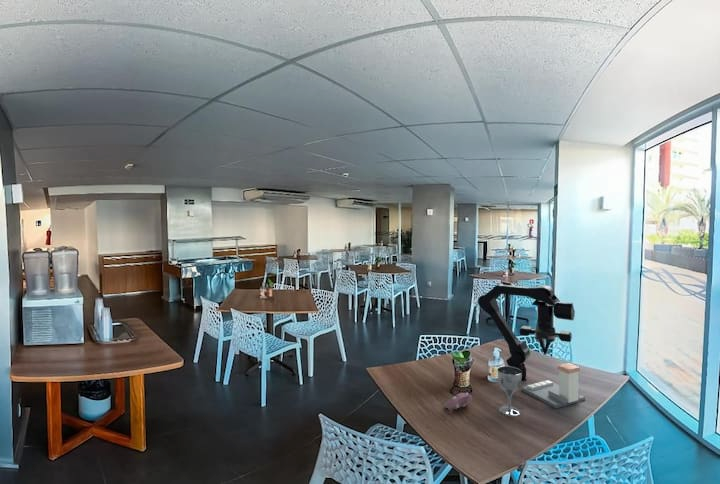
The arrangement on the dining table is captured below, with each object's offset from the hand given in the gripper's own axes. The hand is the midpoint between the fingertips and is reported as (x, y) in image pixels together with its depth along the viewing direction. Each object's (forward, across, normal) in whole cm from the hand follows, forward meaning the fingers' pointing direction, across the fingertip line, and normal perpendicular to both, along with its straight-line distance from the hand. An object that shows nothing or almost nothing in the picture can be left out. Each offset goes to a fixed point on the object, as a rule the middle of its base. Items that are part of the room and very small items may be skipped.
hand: (545, 353), depth 149 cm
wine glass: (+13, -8, -30) cm, 34 cm away
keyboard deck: (+13, +4, -8) cm, 16 cm away
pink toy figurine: (+13, -24, -37) cm, 46 cm away
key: (+12, +9, -12) cm, 19 cm away
